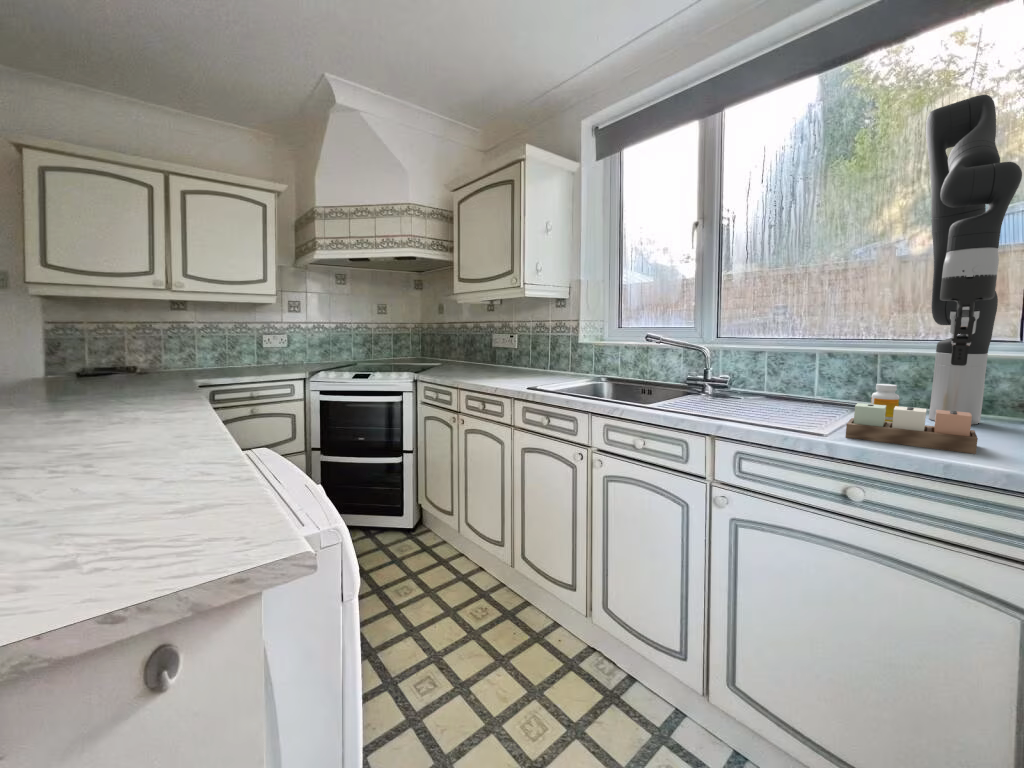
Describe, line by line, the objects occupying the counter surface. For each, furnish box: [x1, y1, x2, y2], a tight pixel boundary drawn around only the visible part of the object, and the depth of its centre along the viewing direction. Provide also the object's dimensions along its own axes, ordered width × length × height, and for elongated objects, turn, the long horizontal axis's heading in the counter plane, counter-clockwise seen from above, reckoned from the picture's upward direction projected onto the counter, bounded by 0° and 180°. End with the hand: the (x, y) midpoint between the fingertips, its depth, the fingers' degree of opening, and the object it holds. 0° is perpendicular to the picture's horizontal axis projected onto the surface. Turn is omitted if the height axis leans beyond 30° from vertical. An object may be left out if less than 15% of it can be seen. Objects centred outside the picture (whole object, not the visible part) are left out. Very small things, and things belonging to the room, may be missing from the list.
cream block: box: [892, 406, 927, 431], centre depth 95 cm, size 5×5×4 cm
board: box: [845, 417, 979, 455], centre depth 96 cm, size 20×9×3 cm, turn 48°
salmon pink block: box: [933, 410, 972, 436], centre depth 91 cm, size 5×5×4 cm
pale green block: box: [853, 402, 886, 427], centre depth 100 cm, size 5×5×4 cm
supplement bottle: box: [870, 383, 900, 422], centre depth 113 cm, size 5×5×10 cm
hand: (958, 365), depth 90 cm, fingers closed
